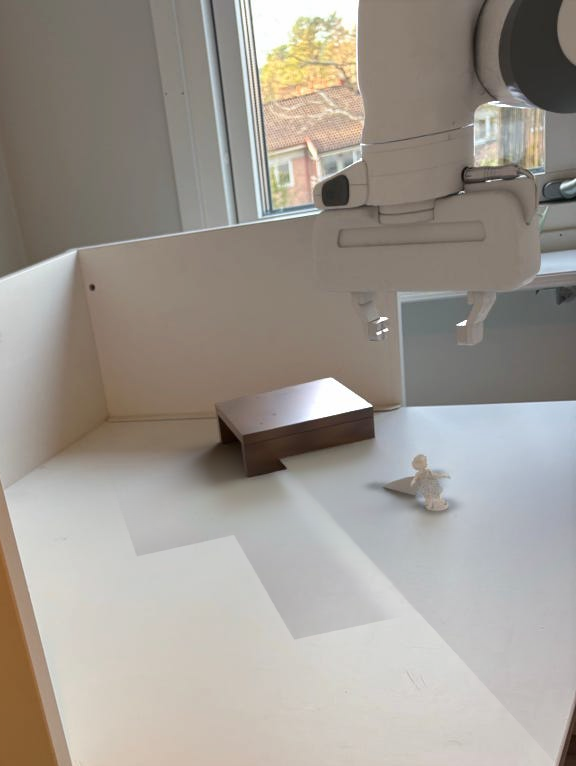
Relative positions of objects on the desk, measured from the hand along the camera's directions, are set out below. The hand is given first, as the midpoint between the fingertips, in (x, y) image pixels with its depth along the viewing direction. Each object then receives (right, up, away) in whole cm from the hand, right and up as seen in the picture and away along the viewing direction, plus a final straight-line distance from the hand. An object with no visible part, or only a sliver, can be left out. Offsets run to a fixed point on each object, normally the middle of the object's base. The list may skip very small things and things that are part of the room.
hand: (421, 341), depth 86 cm
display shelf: (-5, -3, +30) cm, 31 cm away
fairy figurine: (+3, -14, +7) cm, 16 cm away
